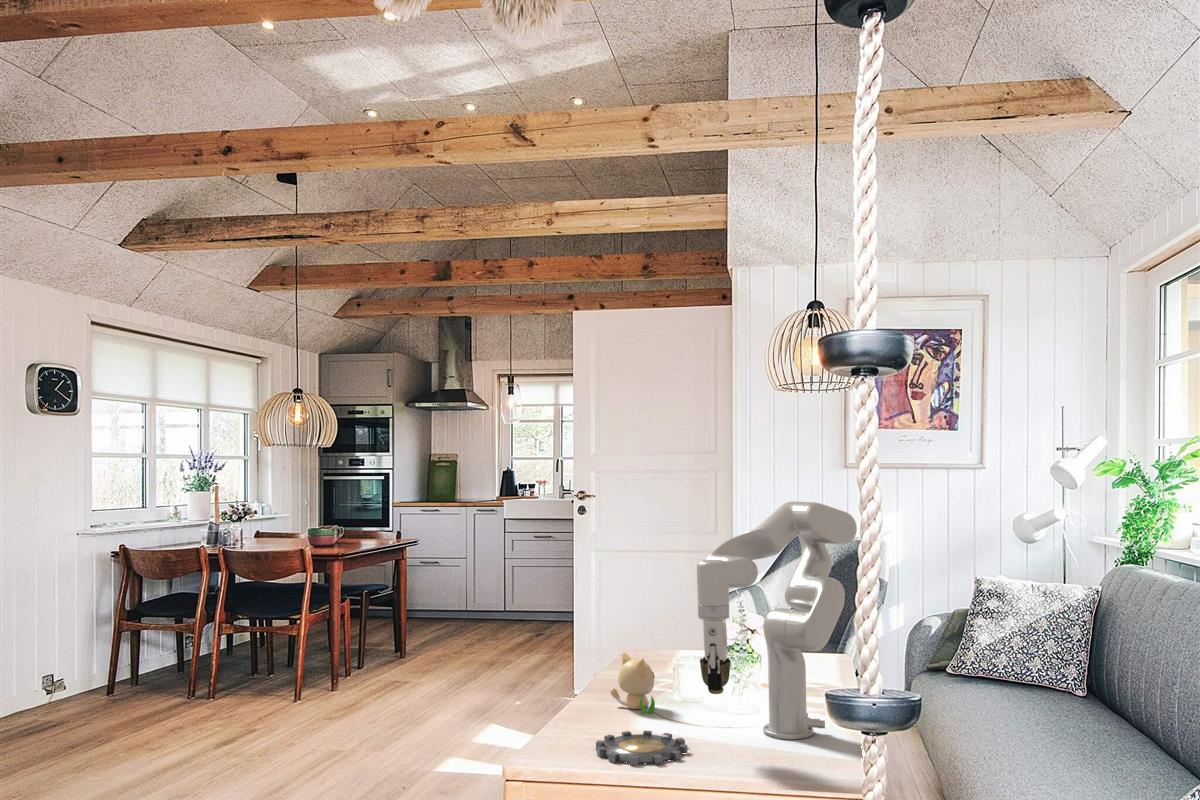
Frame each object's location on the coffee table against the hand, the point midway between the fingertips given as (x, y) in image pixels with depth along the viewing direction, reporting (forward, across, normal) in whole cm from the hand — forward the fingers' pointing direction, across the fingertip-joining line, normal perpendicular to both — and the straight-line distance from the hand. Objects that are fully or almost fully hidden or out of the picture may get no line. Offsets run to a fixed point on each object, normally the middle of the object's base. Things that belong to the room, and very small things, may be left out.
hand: (716, 685), depth 236 cm
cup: (+2, 0, 0) cm, 2 cm away
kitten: (+17, +38, +26) cm, 49 cm away
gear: (+16, -1, +19) cm, 25 cm away
